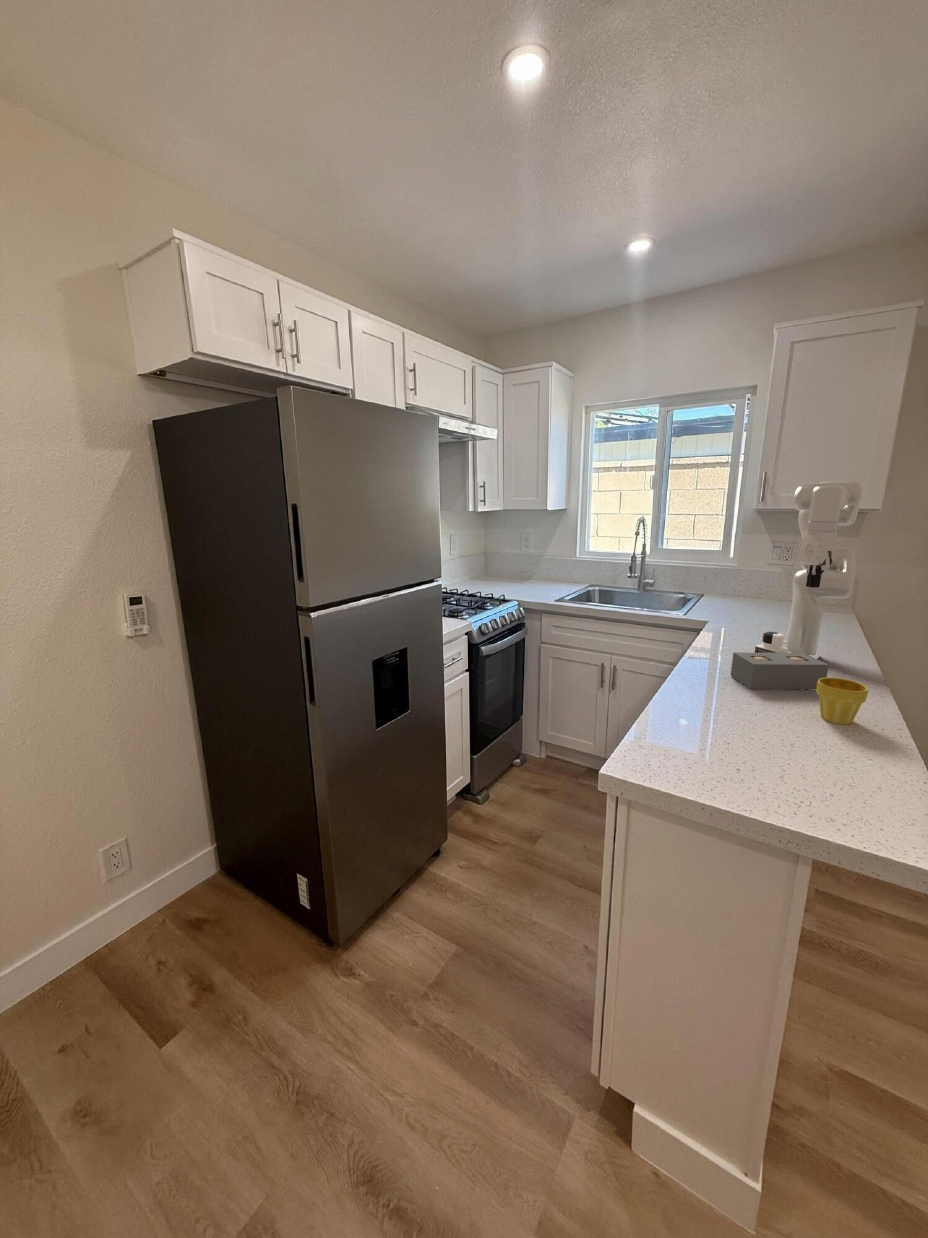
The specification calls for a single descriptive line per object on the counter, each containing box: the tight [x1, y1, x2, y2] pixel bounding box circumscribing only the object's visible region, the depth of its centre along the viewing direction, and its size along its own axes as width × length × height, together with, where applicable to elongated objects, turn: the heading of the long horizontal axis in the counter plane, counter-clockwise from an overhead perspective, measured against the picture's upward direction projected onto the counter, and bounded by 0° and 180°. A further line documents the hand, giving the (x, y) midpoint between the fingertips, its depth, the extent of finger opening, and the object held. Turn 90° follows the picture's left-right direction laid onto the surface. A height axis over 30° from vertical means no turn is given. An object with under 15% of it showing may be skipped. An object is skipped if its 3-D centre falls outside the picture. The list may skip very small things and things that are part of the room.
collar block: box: [730, 651, 830, 690], centre depth 154 cm, size 12×22×8 cm, turn 88°
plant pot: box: [815, 676, 869, 725], centre depth 127 cm, size 10×10×10 cm
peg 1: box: [754, 657, 768, 661], centre depth 154 cm, size 4×4×7 cm
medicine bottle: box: [754, 631, 789, 653], centre depth 169 cm, size 7×7×12 cm
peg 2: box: [790, 657, 805, 661], centre depth 154 cm, size 4×4×7 cm
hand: (812, 586), depth 156 cm, fingers closed
